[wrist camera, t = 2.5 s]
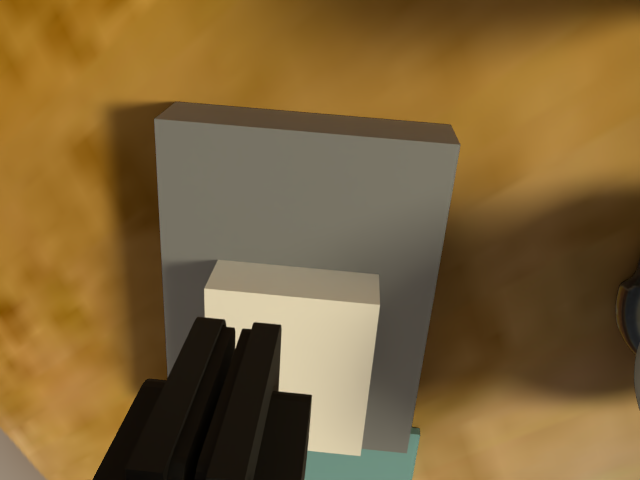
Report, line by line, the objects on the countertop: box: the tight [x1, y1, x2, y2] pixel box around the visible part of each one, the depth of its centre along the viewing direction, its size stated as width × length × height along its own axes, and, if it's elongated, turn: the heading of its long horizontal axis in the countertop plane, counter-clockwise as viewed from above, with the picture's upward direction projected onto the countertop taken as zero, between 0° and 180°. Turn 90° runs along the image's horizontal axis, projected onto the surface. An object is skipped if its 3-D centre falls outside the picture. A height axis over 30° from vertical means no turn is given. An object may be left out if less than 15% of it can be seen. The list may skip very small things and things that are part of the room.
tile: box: [204, 260, 380, 456], centre depth 27 cm, size 8×7×2 cm
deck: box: [154, 102, 460, 453], centre depth 29 cm, size 16×12×3 cm
